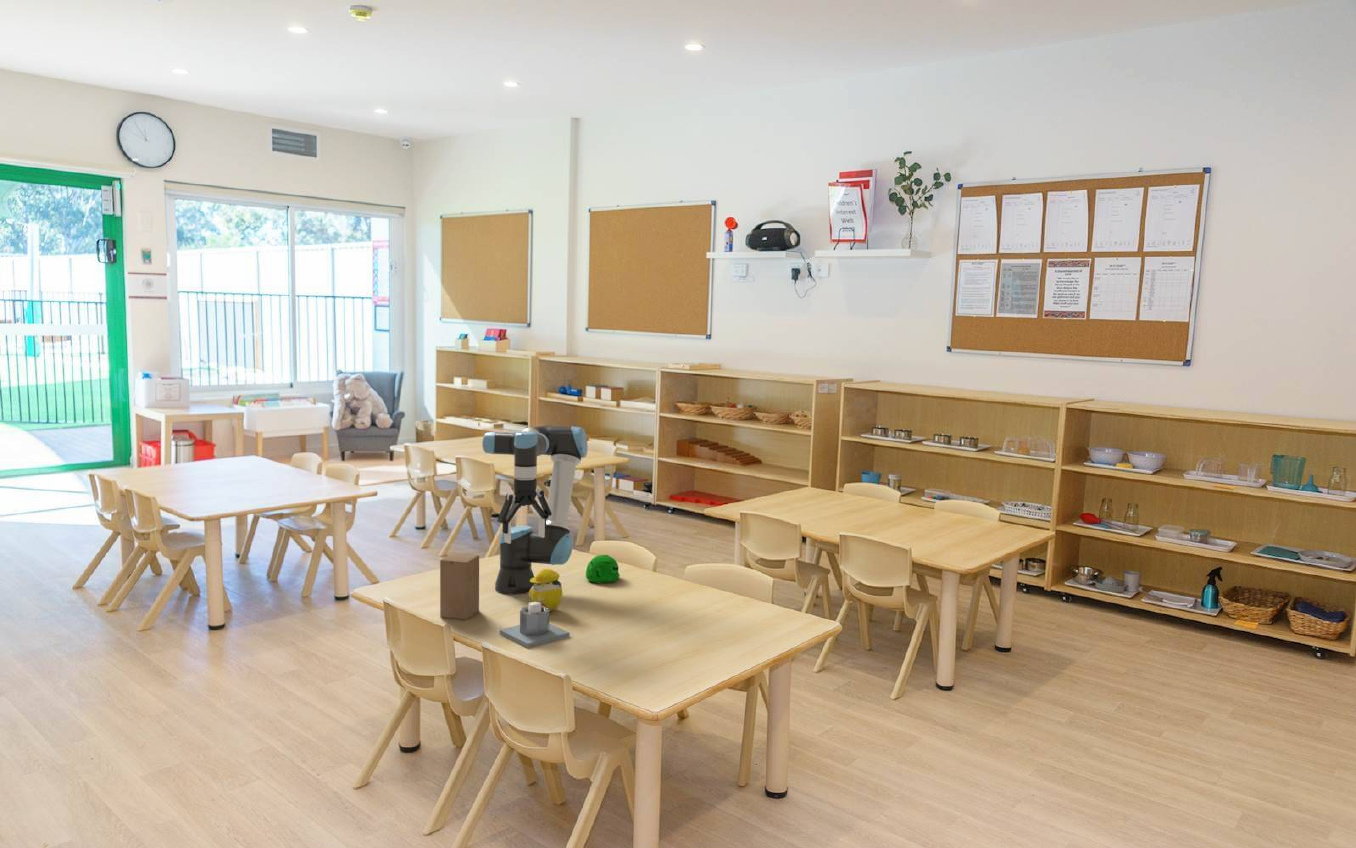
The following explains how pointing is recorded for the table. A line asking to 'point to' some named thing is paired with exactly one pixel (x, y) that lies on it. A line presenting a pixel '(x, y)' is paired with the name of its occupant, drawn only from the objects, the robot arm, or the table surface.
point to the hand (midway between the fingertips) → (524, 539)
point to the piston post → (532, 641)
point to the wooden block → (459, 586)
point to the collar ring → (534, 622)
